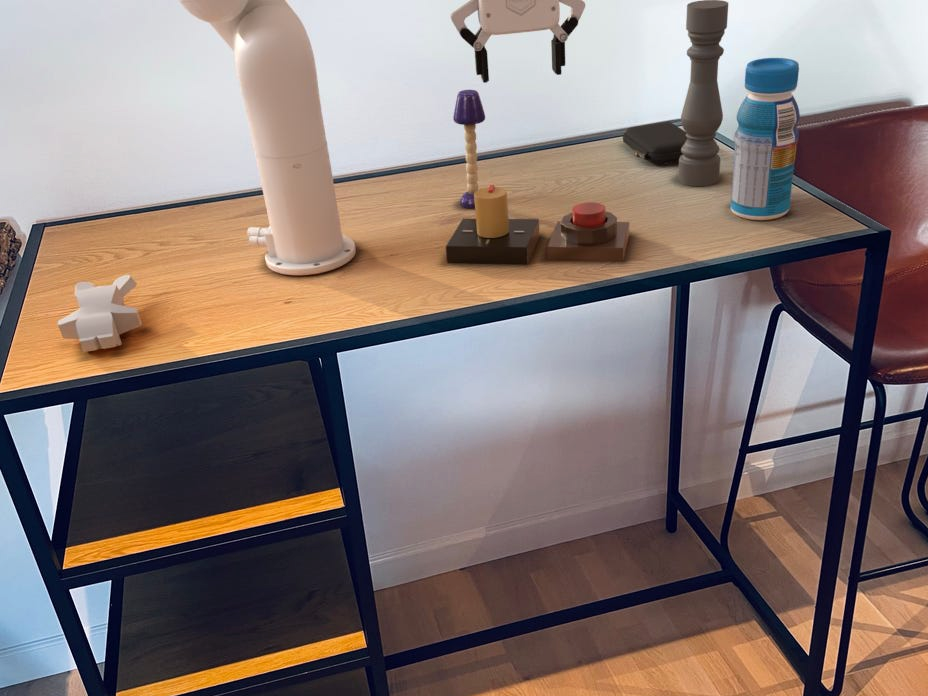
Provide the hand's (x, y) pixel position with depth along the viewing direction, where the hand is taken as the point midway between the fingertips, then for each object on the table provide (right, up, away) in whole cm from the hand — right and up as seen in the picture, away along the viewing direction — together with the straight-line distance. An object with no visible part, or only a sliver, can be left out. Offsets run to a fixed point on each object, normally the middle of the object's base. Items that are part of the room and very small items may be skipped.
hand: (521, 76), depth 131 cm
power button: (+9, -19, +2) cm, 21 cm away
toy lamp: (-6, -12, +21) cm, 24 cm away
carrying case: (+24, 0, +34) cm, 42 cm away
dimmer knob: (-4, -20, +4) cm, 20 cm away
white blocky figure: (-53, -35, -6) cm, 63 cm away
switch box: (+9, -22, +4) cm, 24 cm away
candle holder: (+28, -7, +22) cm, 37 cm away
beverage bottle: (+34, -16, +10) cm, 39 cm away
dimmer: (-3, -22, +6) cm, 23 cm away
